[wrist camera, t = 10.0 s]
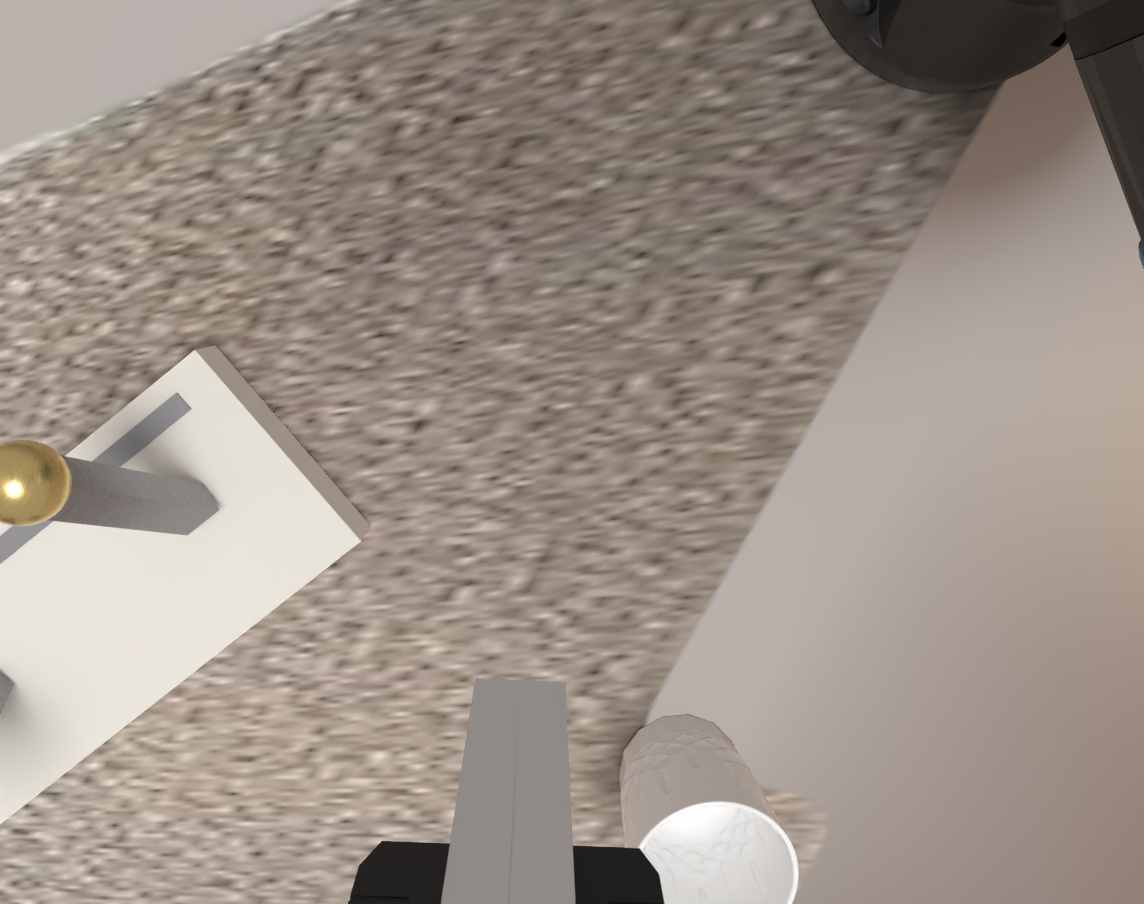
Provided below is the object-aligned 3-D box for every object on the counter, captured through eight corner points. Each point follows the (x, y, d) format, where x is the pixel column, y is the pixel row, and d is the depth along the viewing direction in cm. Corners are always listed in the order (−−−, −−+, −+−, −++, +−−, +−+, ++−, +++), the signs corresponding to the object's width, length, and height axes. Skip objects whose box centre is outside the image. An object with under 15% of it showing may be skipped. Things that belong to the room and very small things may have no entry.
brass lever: (236, 515, 44) (41, 485, 32) (186, 556, 45) (-27, 541, 33) (204, 463, 45) (2, 415, 33) (154, 503, 45) (-64, 470, 33)
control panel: (370, 525, 49) (360, 542, 46) (30, 792, 51) (-2, 826, 48) (215, 345, 47) (193, 350, 44) (-134, 630, 49) (-180, 654, 45)
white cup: (694, 855, 54) (732, 984, 44) (581, 787, 52) (594, 904, 43) (774, 748, 53) (832, 856, 43) (661, 677, 51) (694, 771, 42)
